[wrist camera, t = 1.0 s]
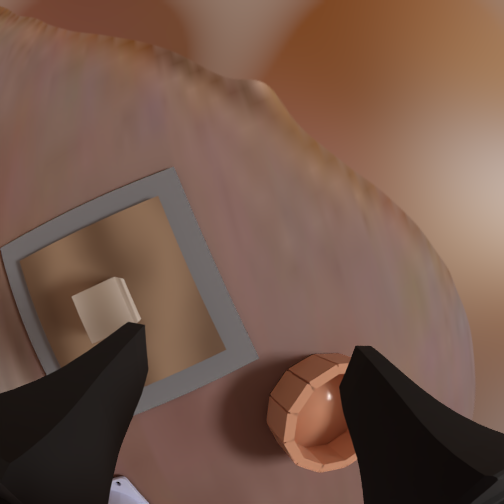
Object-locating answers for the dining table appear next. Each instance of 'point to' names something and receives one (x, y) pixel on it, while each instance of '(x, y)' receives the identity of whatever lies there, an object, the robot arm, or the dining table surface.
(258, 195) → the dining table surface
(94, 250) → the square tan board
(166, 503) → the dining table surface
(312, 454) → the bowl
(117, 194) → the mat
